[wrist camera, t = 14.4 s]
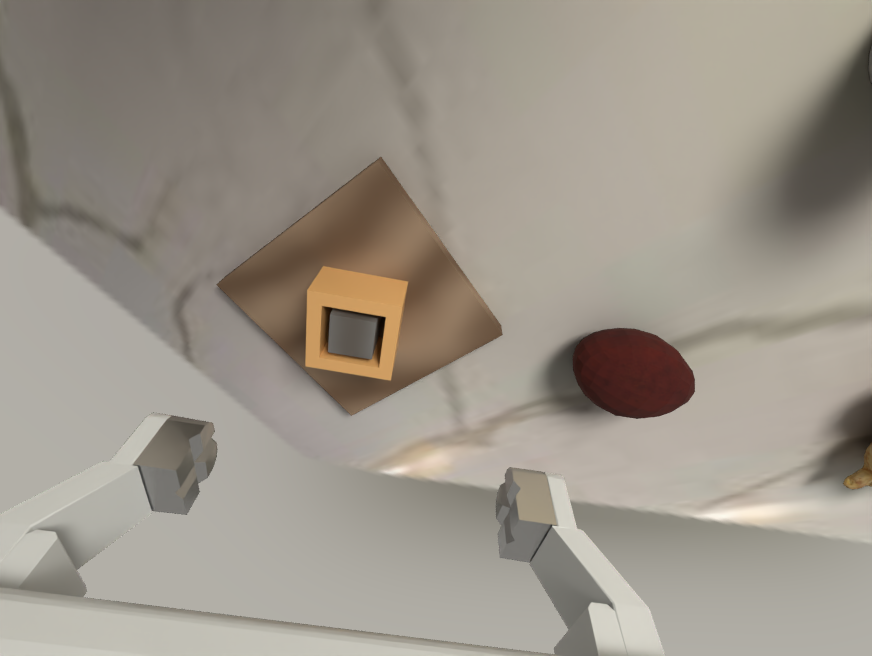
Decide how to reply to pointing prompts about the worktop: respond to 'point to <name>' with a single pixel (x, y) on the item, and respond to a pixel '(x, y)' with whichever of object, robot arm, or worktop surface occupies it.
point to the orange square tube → (360, 297)
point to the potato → (632, 373)
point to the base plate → (375, 255)
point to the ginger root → (861, 473)
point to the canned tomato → (870, 64)
